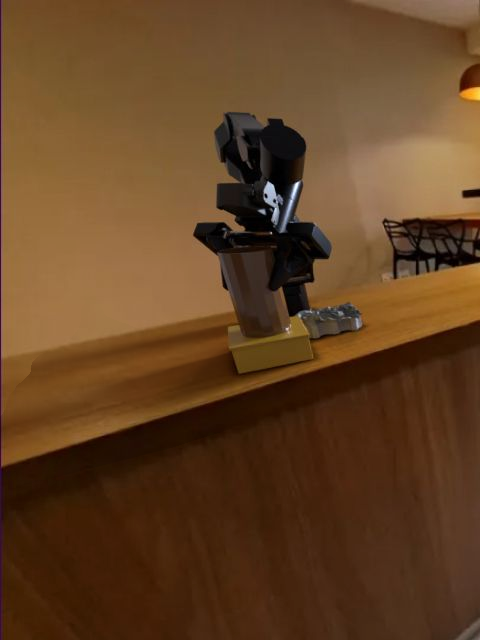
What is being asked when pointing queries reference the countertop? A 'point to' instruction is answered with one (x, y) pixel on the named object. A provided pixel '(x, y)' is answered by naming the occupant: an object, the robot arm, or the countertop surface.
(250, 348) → the yellow block
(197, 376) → the countertop surface
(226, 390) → the countertop surface
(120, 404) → the countertop surface
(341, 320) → the grey knobbed block
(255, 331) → the brown faceted cup
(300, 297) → the robot arm
